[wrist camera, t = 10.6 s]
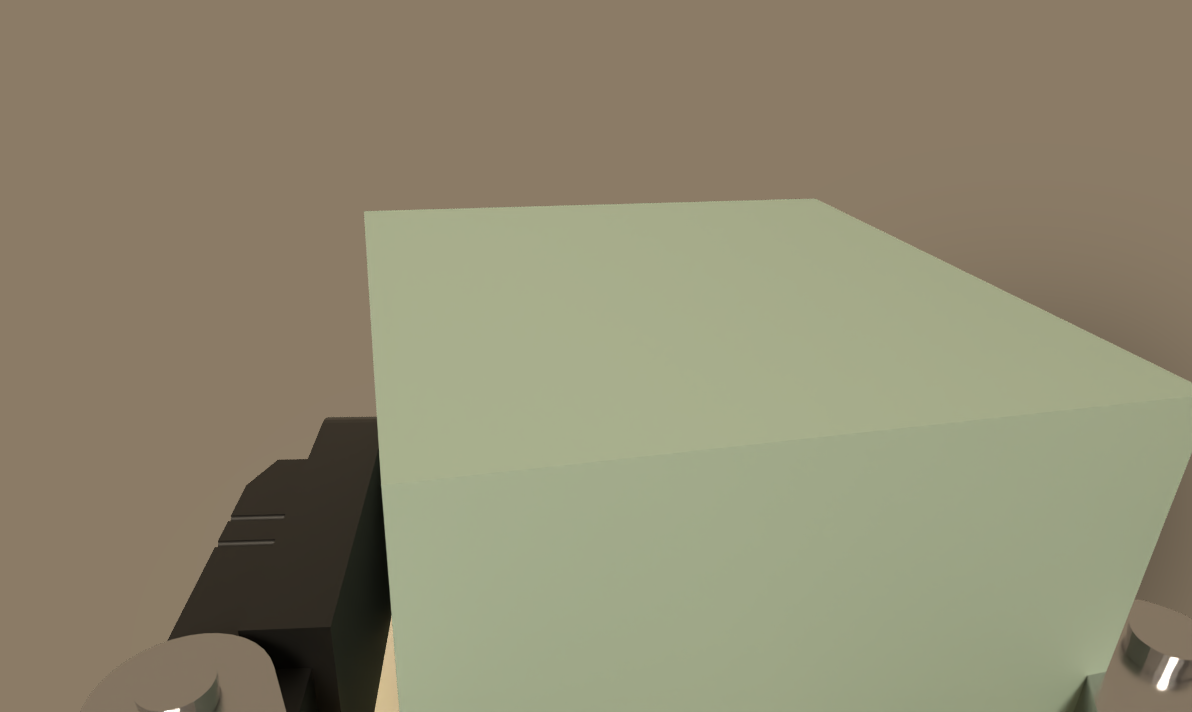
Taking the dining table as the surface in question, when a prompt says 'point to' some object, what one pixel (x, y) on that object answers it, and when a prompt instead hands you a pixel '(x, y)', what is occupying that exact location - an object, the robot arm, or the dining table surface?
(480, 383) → the sage pillar block
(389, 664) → the dining table surface
